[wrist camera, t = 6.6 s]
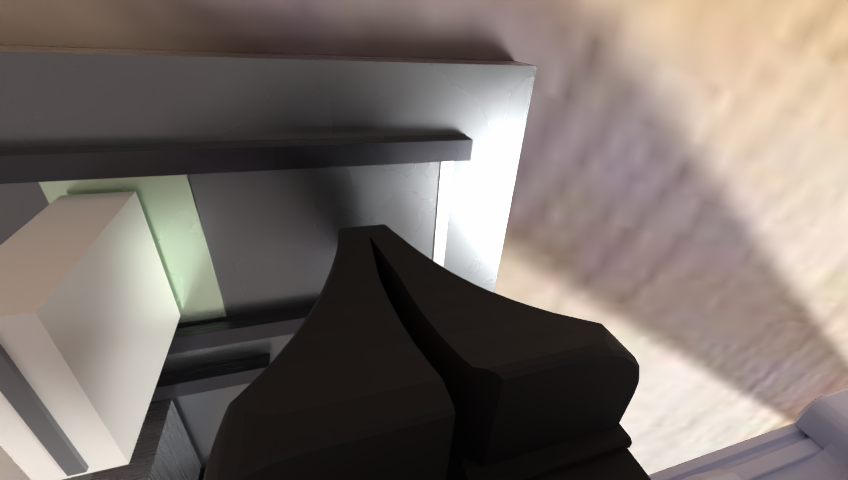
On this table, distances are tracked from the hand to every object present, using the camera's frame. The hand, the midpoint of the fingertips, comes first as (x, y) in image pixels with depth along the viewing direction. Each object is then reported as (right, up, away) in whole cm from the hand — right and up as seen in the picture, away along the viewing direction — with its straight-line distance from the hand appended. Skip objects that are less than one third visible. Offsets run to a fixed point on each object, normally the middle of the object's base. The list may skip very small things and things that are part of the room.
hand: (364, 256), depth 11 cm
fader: (-6, 0, -1) cm, 6 cm away
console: (-3, -2, +3) cm, 5 cm away
